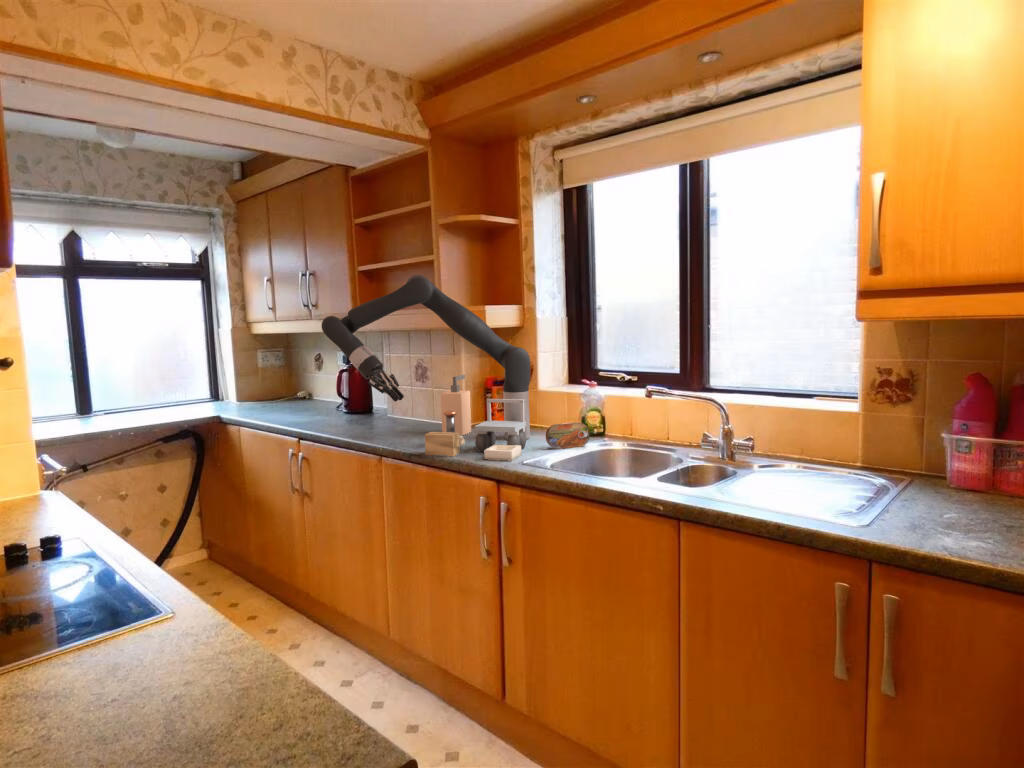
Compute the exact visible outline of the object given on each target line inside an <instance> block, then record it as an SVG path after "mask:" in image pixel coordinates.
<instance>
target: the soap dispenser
mask: <svg viewBox="0 0 1024 768" xmlns="http://www.w3.org/2000/svg"><path fill="white" fill-rule="evenodd" d="M465 379H466V374H461V375H456V376H453V377H452V385H450V390H447V391H443V392H441V393H440V411H441V432H446V415H444V412H445V411H456V413H457V414H456V415H455V433H459V435H464V436H466V435H468V434H470V433H472V417H471V416H472V415H471V413H472V412H471V411H472V410H471V409H472V408H471V390H460V388H461V387H460V385H459V384H458V381H461V380H465ZM469 432H470V433H469ZM467 433H468V434H467ZM465 434H466V435H465Z"/></svg>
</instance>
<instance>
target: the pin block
mask: <svg viewBox="0 0 1024 768" xmlns="http://www.w3.org/2000/svg"><path fill="white" fill-rule="evenodd" d="M463 444H464V445H465V444H466V443H465V438H464V436H459V446H460V447H462V446H464V445H463ZM461 445H462V446H461Z"/></svg>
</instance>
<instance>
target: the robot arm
mask: <svg viewBox="0 0 1024 768" xmlns="http://www.w3.org/2000/svg"><path fill="white" fill-rule="evenodd" d="M420 304H421V305H423V306H424V307H426V308H427V309H429V310H430V311H432V312H433V313H434V314H436V315H437V316H438V317H439V318H440V319H441V320H442V321H443V323H445V324H446V326H448V327H449V328H450V329H451V330H452V331H453V332H454V333H456V334H457V335H459V336H460V337H461V338H462V339H464V340H466V341H467V342H469V343H470V344H472V345H473V346H475V347H476V348H478V349H480V350H482V351H484V352H485V353H486V354H487V355H488V356H491V358H492V359H494V360H495V361H496V362H497V363H498V364H500V366H501V367H502V368H504V375H505V376H504V383H503V385H502V388H503V389H502V392H503V393H502V394H503V395H502V396H503V397H502V398H503V399H524V422H526V427H525V431H524V432H525V434H526V440H527V439H530V438H531V432H530V431H531V430H530V429H531V428H530V427H531V426H530V422H531V421H530V396H529V395H530V391H529V388H530V385H531V358H530V354H529V353H528V351H527V350H526V349H525V348H523V347H520V346H515V345H512V344H511V343H510V342H507V341H506V340H504V339H503V338H501V337H500V336H499V335H498V334H496V333H495V331H493V329H492V328H491V327H490V326H489V325H488V324H487V323H486V322H485V321H484V320H483V319H482V318H480V317H479V316H478V315H477V314H475V313H474V312H473V311H471V310H470V309H468V308H467V307H465V306H464V305H462V304H460V302H457V301H456V300H454V299H452V298H451V297H449V296H448V295H447V294H445V293H444V292H443V291H441V290H440V289H439V288H438V287H437V286H436V285H435V284H434V283H433V282H432V281H431V280H430V279H429V278H428V277H427V276H424V275H422V274H415V275H412V276H410V277H409V278H408V280H407V281H406V283H405V284H403V285H402V286H401V287H399V288H398V289H397V288H396V290H394V291H391V292H389V293H388V294H386V295H382V296H380V297H377V298H375V299H372V300H369V301H366V302H364V303H362V304H360V305H357V306H356V307H353V308H351V309H349V311H347V315H346V316H344V317H343V318H341V319H340V318H339V317H337V316H334V315H330V316H326V317H325V318H323V320H322V322H321V331H322V332H323V334H324V335H325V336H326V337H327V338H328V339H329V340H330V341H331V342H332V343H334V345H336V346H337V348H339V350H340V351H341V352H342V354H344V356H345V357H346V358H347V359H348V360H349V362H350V363H351V364H352V366H353V367H354V368H356V370H357V371H358V372H359V373H360V374H361V376H362V377H363V378H364V379H366V380H369V381H368V385H369V386H371V387H373V388H374V389H375V390H377V391H378V392H380V393H381V394H386V395H388V396H389V397H390V399H392V400H393V401H394V402H398V401H402V400H403V399H404V398H405V395H404V394H403V393H402V391H400V389H399V387H400V384H399V382H398V380H397V379H396V377H395V375H394V374H393V373H391V374H390V375H389V374H388V373H387V372H386V371H385V370H384V364H383V362H382V361H381V360H380V359H379V358H378V357H377V356H376V355H375V353H373V351H372V350H371V349H370V348H368V347H367V346H366V345H365V344H364V343H363V342H362V341H361V340H360V339H359V338H358V337H357V336H356V335H354V333H356V332H357V331H358V330H359V329H361V328H364V327H366V326H368V325H371V324H373V323H374V322H376V321H379V320H381V319H383V318H385V317H387V316H389V315H391V314H392V313H395V312H398V311H400V310H402V309H406V308H409V307H412V306H415V305H420ZM503 421H521V415H520V403H505V402H503ZM508 436H509V435H508V432H504V439H505V440H508Z"/></svg>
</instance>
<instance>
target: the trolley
mask: <svg viewBox="0 0 1024 768" xmlns="http://www.w3.org/2000/svg"><path fill="white" fill-rule="evenodd" d="M504 402H505V403H520V415H521V421H504V420H492V408H491V407H492V406H491V405H492V404H491V403H504ZM486 414H487V420H485V421H483V422H480V423H479V424H476V425H474V431H475V432H476V437H475V442H474V443H475V444H474V445H475V448H476V451H478V452H484V450H486V449H487V448H488V447H491V446H493V445H496V439H497V438H496V433H497V432H498V433H505V432H508V435H509V436H508V439H506V445H518V446H521V450H524V449H525V447H526V443H527V439H526V434H525V432H524V431H525V427H526V422H524V399H504V398H487V399H486Z"/></svg>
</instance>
